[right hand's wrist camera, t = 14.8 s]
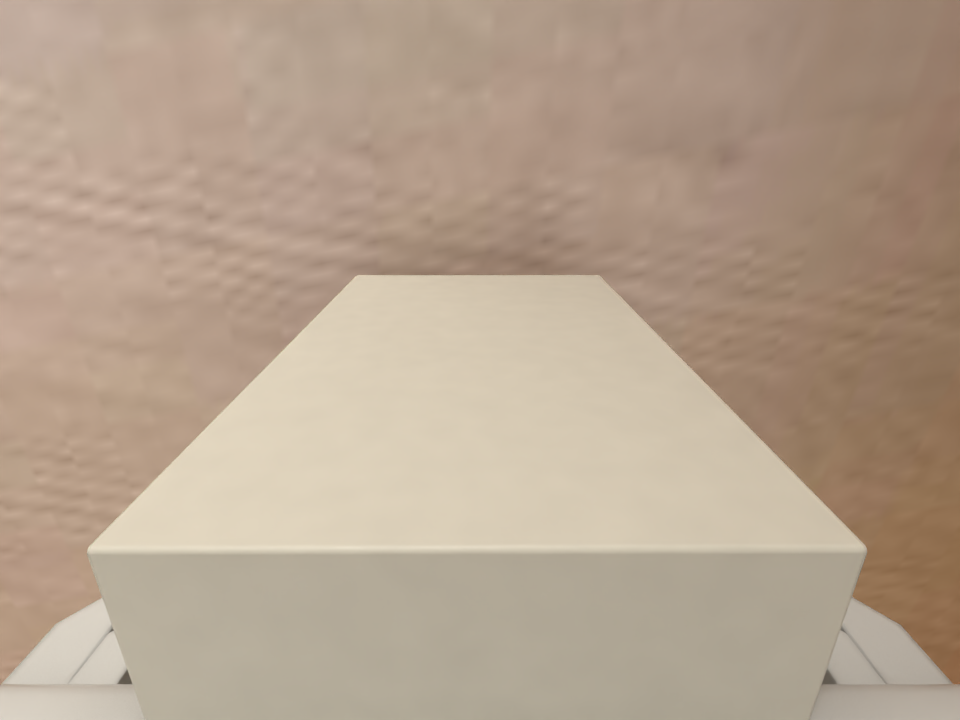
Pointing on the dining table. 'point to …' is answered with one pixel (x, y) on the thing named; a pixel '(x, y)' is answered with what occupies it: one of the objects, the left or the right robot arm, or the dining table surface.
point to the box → (477, 527)
